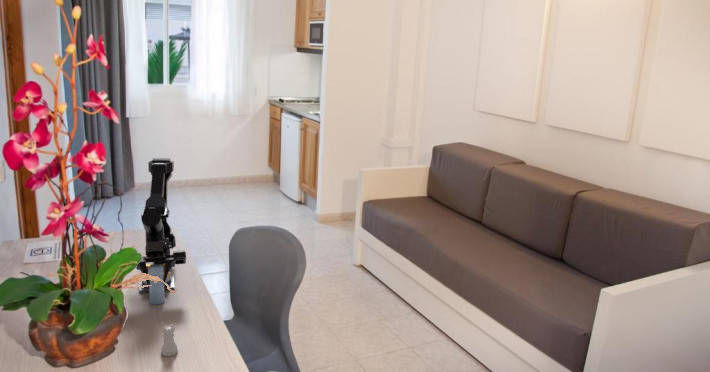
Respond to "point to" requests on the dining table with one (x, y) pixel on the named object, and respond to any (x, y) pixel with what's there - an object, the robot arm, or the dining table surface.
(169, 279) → the open square bin
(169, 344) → the rook chess piece
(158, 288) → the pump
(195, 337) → the dining table surface
